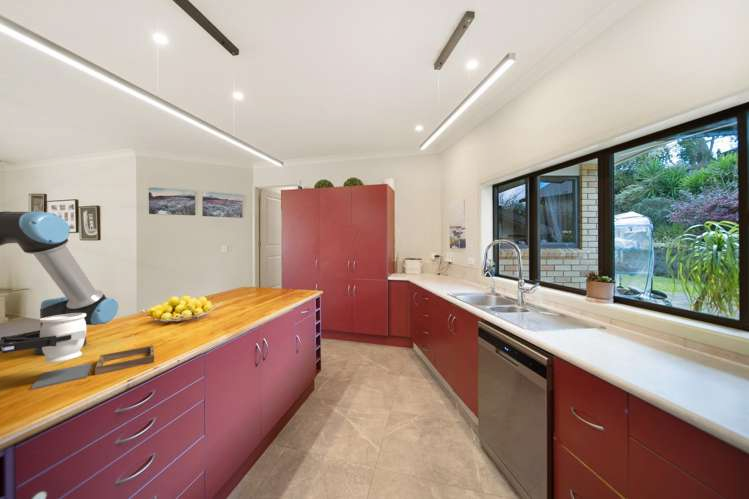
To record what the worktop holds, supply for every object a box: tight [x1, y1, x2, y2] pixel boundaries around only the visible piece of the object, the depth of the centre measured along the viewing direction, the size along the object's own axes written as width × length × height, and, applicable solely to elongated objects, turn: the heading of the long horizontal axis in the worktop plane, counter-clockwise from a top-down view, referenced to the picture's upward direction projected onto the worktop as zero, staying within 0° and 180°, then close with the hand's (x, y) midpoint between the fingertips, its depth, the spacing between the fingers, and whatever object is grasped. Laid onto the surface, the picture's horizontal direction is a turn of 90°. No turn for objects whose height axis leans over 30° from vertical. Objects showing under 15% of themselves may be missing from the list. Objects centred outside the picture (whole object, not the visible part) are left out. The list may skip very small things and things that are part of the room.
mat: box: [30, 362, 93, 391], centre depth 92 cm, size 14×12×1 cm
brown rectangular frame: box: [94, 345, 155, 376], centre depth 103 cm, size 15×16×2 cm
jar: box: [39, 313, 87, 364], centre depth 91 cm, size 11×10×15 cm
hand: (81, 331), depth 95 cm, fingers closed on jar, 10 cm apart
